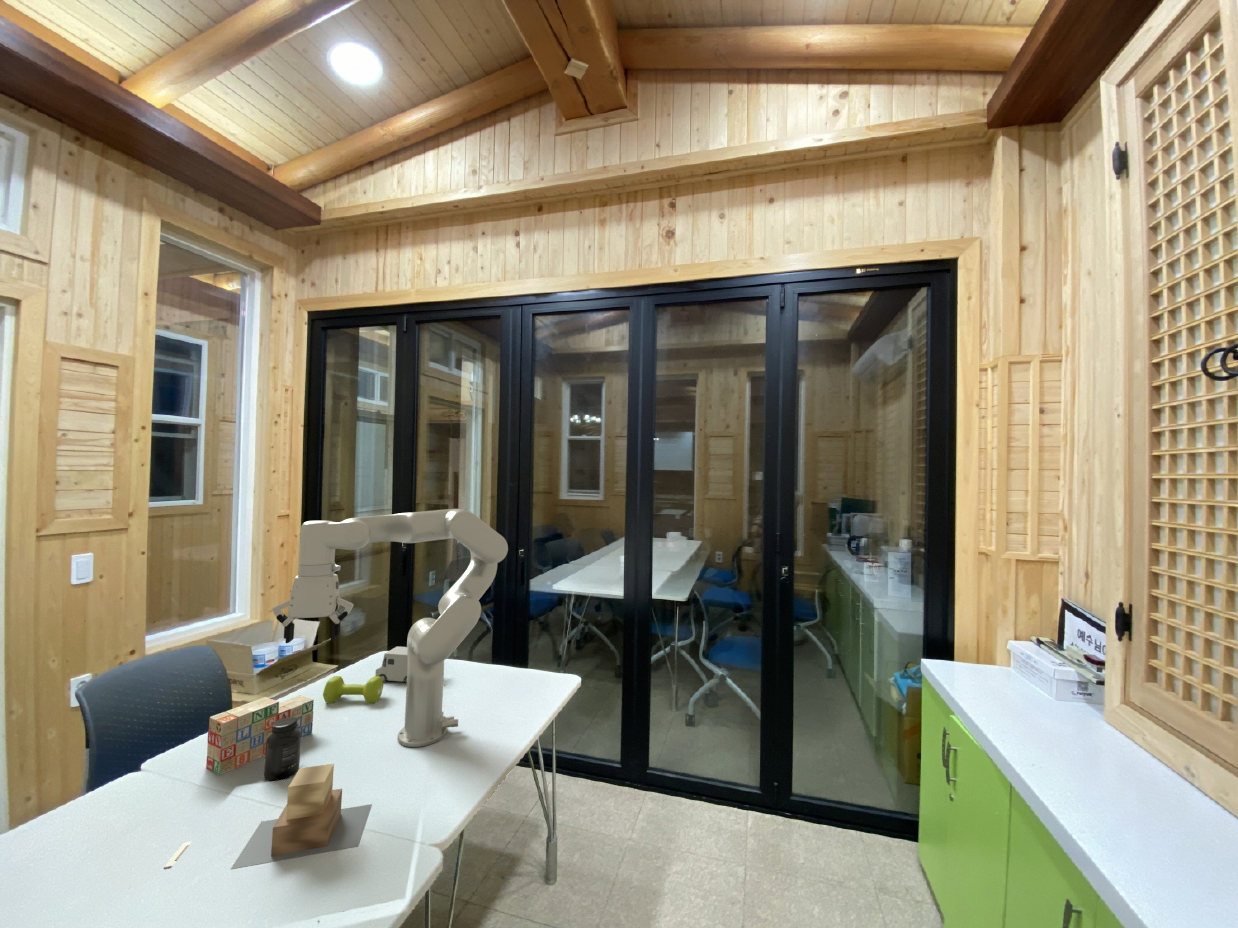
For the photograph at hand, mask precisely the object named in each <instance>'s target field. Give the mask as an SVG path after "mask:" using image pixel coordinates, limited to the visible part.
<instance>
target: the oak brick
mask: <svg viewBox="0 0 1238 928" xmlns="http://www.w3.org/2000/svg"><path fill="white" fill-rule="evenodd" d="M334 768H335V763H328V764H322V765H321V764H320V765H315V766H313V765H312V766H305V767H299V769H298V771H297V772H296V773H295V774H294V777H293V778H292V780H291V781H290V784H289V785H288V787H287V802H286V805H287V814H286V820H290V819H296V818H303V817H309V816H315V815H321V814H323V813H324V811H325V808H326V806H327V804H328V802H329V800H330V798H331V796H332V790H333V786H334V783H333V782H334V772H335V771H334V770H335V769H334Z"/></svg>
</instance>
